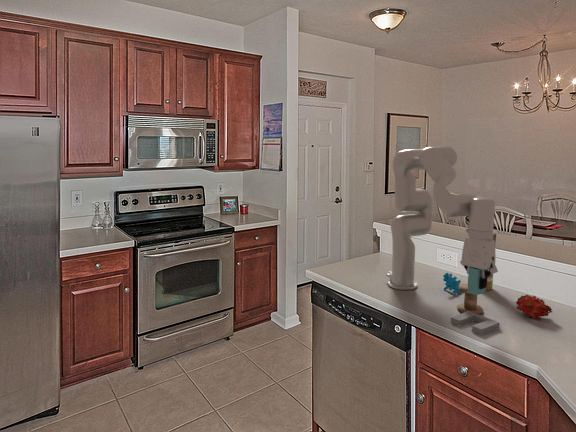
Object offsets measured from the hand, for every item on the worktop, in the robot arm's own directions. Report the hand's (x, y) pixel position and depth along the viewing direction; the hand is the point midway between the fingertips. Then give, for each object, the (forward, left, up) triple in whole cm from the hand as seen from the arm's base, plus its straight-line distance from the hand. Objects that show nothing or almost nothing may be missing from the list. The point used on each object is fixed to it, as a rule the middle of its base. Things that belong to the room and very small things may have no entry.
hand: (477, 286), depth 150 cm
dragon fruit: (+7, +24, -15) cm, 29 cm away
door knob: (-9, +10, -14) cm, 20 cm away
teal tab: (0, 0, -2) cm, 2 cm away
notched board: (0, 0, -14) cm, 14 cm away
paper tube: (-21, +36, -15) cm, 44 cm away
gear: (-26, +22, -15) cm, 37 cm away
